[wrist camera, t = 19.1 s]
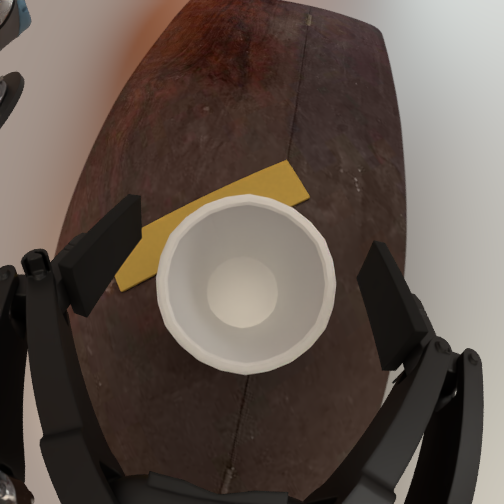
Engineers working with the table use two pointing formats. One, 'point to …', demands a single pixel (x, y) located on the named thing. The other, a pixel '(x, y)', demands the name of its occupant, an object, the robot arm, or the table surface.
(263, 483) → the table surface
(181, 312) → the cup
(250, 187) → the yellow plank
